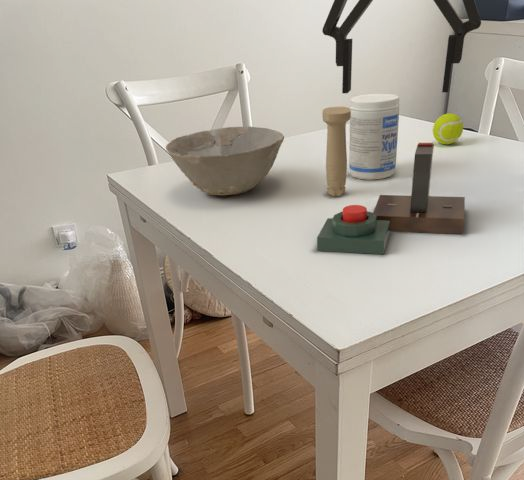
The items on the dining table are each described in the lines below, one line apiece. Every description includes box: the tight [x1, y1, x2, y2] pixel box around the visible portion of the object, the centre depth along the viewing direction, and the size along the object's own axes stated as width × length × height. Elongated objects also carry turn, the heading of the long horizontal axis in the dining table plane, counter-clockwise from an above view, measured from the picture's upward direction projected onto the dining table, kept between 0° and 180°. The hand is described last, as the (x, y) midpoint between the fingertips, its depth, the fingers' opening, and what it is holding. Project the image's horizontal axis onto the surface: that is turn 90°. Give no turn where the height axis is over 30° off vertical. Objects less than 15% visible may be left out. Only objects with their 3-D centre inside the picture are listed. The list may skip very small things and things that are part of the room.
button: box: [342, 204, 368, 223], centre depth 82 cm, size 4×4×2 cm
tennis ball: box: [432, 112, 464, 145], centre depth 125 cm, size 7×7×7 cm
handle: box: [321, 106, 351, 197], centre depth 99 cm, size 5×6×15 cm
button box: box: [316, 210, 391, 255], centre depth 83 cm, size 10×8×4 cm
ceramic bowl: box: [165, 126, 285, 196], centre depth 107 cm, size 22×23×10 cm
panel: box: [372, 194, 466, 235], centre depth 89 cm, size 14×10×3 cm
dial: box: [410, 142, 435, 212], centre depth 85 cm, size 6×2×9 cm, turn 163°
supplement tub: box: [348, 93, 401, 181], centre depth 108 cm, size 10×10×15 cm
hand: (394, 91), depth 76 cm, fingers open, 13 cm apart
